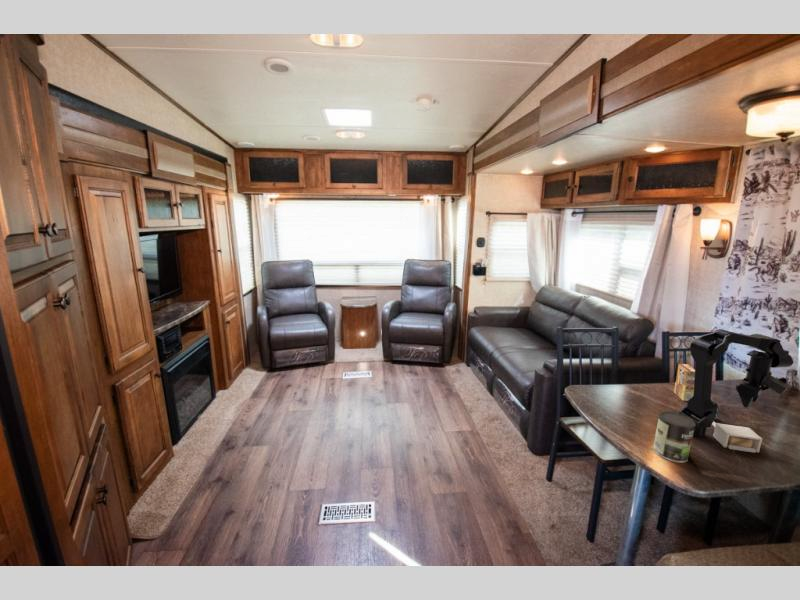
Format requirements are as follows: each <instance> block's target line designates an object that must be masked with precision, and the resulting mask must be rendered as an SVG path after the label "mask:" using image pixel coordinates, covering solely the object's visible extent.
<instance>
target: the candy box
mask: <svg viewBox="0 0 800 600" xmlns="http://www.w3.org/2000/svg"><path fill="white" fill-rule="evenodd" d="M675 379H676V380H675V384H674V389H673V392H674V393H675V395H676V396H677V397H678V398H679V399H681V400H682V401H683V402H688V400H689V399H690V398H692V397H693V395H694V380H695V368H693V367H692V366H691V365H689V364H685V363H679V364H678V367H677V372H676V378H675Z"/></svg>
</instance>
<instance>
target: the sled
mask: <svg viewBox="0 0 800 600" xmlns="http://www.w3.org/2000/svg"><path fill="white" fill-rule="evenodd" d="M717 412H718V413H719V409H718V408H717ZM718 413H716V418H715V419H714V421H713V423H712V425H711V426H713V427H714V428H715V425H716V423H717V422H715V420H716V419H717V417H718ZM726 448H728V449H730V450H735V451H741V452H749V453H755V454H756V453H757V452H756V449H755V448H752V447H751V448H749V447H743V446H736V445H728V444H727V447H726Z"/></svg>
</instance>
